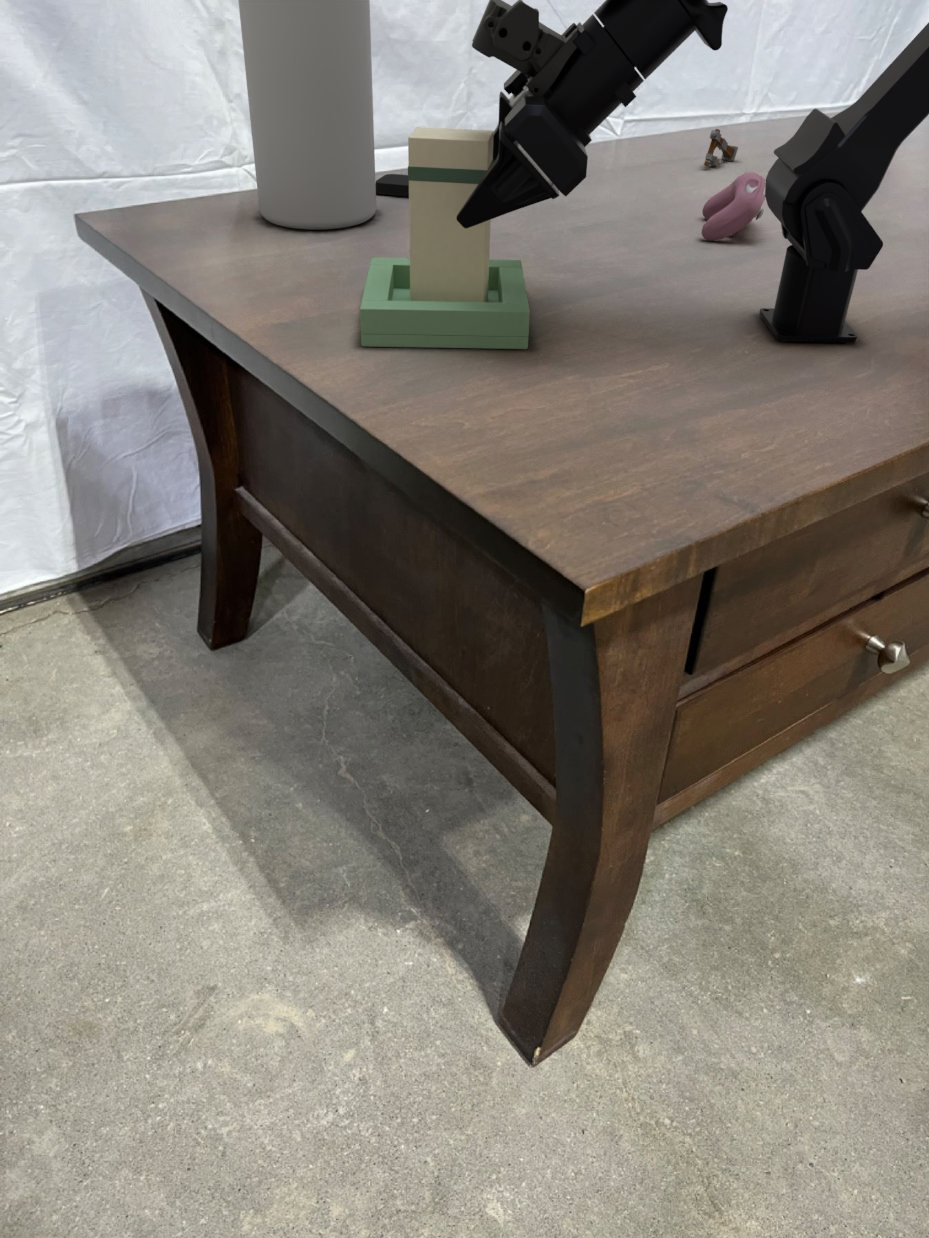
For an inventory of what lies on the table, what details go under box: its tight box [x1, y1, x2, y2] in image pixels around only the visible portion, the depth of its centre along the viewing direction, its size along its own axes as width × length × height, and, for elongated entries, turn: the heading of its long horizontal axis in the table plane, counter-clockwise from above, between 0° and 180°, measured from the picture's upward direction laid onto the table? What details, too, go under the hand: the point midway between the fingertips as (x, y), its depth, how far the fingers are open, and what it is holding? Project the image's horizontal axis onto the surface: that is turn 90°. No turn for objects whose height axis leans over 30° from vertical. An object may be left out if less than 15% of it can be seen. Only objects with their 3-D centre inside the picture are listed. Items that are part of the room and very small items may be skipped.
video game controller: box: [701, 170, 766, 242], centre depth 104 cm, size 10×5×7 cm, turn 169°
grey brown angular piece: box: [703, 128, 739, 168], centre depth 130 cm, size 2×8×4 cm, turn 145°
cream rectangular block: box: [407, 126, 494, 302], centre depth 78 cm, size 6×4×13 cm
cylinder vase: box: [238, 0, 377, 231], centre depth 99 cm, size 12×12×25 cm
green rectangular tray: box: [359, 256, 531, 350], centre depth 81 cm, size 13×13×3 cm
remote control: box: [375, 173, 409, 198], centre depth 115 cm, size 5×2×15 cm
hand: (462, 207), depth 77 cm, fingers open, 9 cm apart
